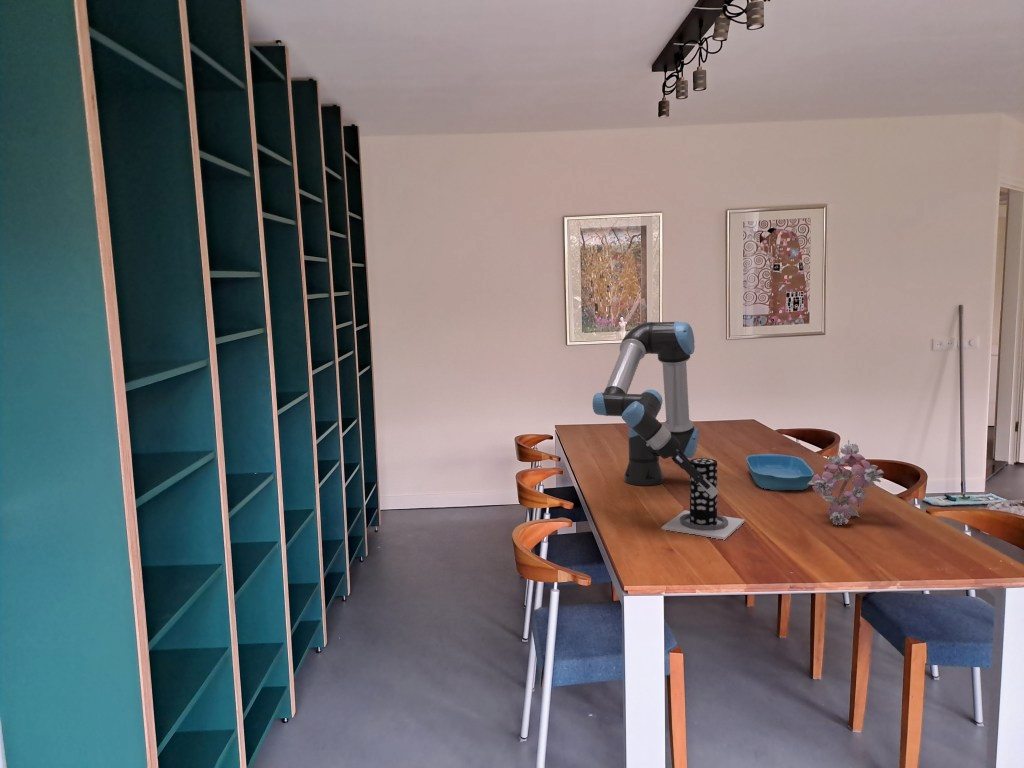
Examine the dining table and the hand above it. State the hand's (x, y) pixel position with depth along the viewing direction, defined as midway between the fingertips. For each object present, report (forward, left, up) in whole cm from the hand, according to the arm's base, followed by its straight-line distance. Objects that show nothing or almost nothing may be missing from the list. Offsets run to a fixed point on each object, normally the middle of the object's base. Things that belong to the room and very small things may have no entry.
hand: (711, 488), depth 228 cm
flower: (-26, +34, -12) cm, 44 cm away
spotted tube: (+1, -2, -11) cm, 12 cm away
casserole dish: (-66, +4, -13) cm, 67 cm away
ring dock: (+1, -2, -12) cm, 12 cm away
